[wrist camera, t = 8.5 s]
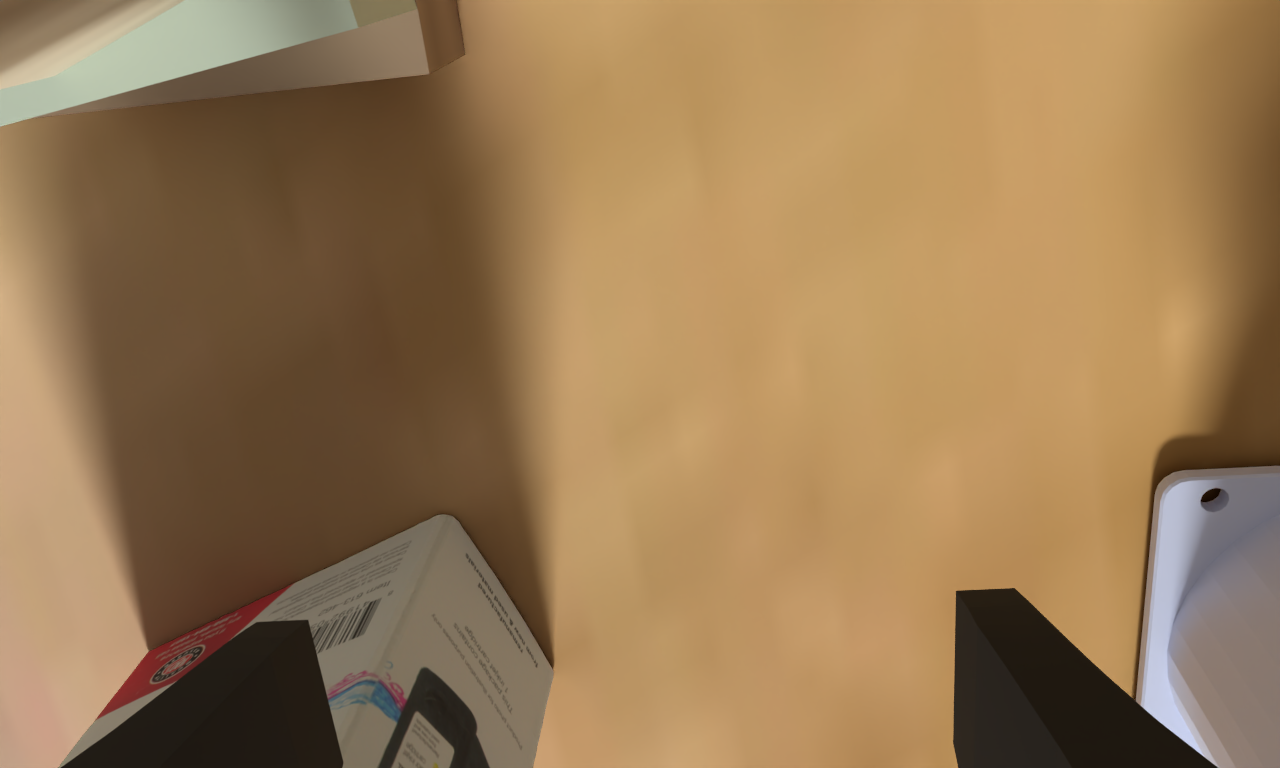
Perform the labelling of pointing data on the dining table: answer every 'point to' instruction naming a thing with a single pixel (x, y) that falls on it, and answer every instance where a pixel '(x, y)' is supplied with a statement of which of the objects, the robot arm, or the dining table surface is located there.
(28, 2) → the maple block
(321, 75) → the walnut base block
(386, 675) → the ink box
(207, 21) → the sage top block
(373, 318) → the dining table surface
